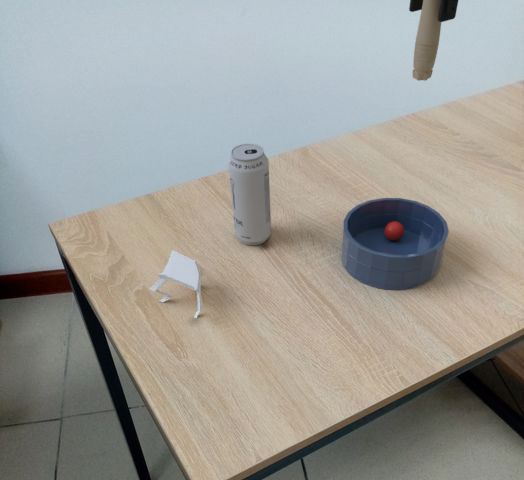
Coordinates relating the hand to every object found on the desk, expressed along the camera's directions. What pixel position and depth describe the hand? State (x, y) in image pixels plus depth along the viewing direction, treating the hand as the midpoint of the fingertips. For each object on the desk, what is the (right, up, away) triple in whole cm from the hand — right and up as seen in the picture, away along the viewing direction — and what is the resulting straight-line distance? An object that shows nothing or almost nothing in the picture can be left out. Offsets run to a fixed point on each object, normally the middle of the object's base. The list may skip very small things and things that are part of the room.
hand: (431, 13), depth 87 cm
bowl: (-8, -41, -4) cm, 42 cm away
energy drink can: (-29, -36, +2) cm, 47 cm away
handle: (+1, -7, +8) cm, 10 cm away
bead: (-7, -36, -3) cm, 37 cm away
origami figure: (-39, -48, -8) cm, 62 cm away
